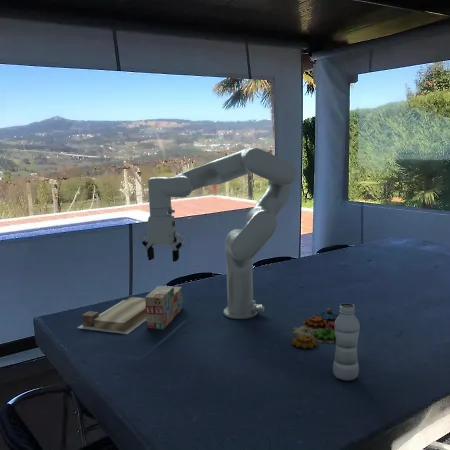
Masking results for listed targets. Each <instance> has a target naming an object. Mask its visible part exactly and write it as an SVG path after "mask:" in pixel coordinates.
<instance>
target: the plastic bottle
mask: <svg viewBox="0 0 450 450" xmlns="http://www.w3.org/2000/svg"><path fill="white" fill-rule="evenodd" d="M355 307H356V306H355V304H353V303H349V302H344V303H340V304H339V311H338V312H339V315H337V316H338V317H337V319H336V320H335V323H334V329H335V337H336V338H335V353H334V360H333V363H332V371H333V375H334V376H335V377H336V379H339V380H341V381H354V380H356V378H357V377H358V376H359V372H360V366H359V361H358V360H359V359H358V344H359V343H358V341H359V337H360V336H359V334H360V329H361V324H360V321H359V320H358V318H357V316H356V315H355V313H356V310H355V309H356V308H355Z"/></svg>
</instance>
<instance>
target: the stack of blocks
mask: <svg viewBox="0 0 450 450" xmlns="http://www.w3.org/2000/svg"><path fill="white" fill-rule="evenodd" d="M144 298H145V303H146V318H147V320H146V328H147V329H155V330H158V329H159V330H165V328H166V327H168V325H169V324H170V323H171V322H172V321H173V320H174V318H175V317H176V316H177V315H178V314H179V313H180V312H181V310H182V309H183V308H184V301H183V300H184V298H183V287H182V286H169V285H168V286H166V285H165V286H164V285H157V286H156V287H155V288H153V290H152V291H150V292H149V293H148V294H147V295H146V296H144Z"/></svg>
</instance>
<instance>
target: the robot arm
mask: <svg viewBox="0 0 450 450" xmlns="http://www.w3.org/2000/svg"><path fill="white" fill-rule="evenodd" d="M248 174H254V175H256V176H258V177H260V178H263V179H265V180H266V181H267V180H268V182H267V189H266V190H265V191H264V193H263V194H262V196H261V197H260V199H259V200H258V201H257V202H256V203H255V204H254V205H253V207H252V208H251V209H250V210H248V212H247V213H246V216H245V220H244V221H245V225H244V226H243V228H235V229H232V230H231V231H229V232H228V233H227V234H226V237H225V240H224V249H225V251H224V252H225V261H226V263H225V264H226V291H227V293H226V296H227V299H226V302H227V306H226V307H225V308H224V309H223V315H224V316H225V317H227V318H229V319H235V320H245V319H251V318H253V317H256V316H257V315H258V313H259V312H260V313H261V312H262V313H264V311H265V306H263V304H257V303H256V300H255V299H254V284H253V283H254V282H253V281H254V279H253V277H254V275H253V258H254V257H255V256H257V254H258V253H259V252H260V251H261V250H262V248H263V247H264V246H265V245H266V244H267V243H268V241H269V240H270V239H271V238H272V236H273V235H274V233H275V232H276V230H277V226H278V219H277V217H278V215H279V213H280V212H281V211H283V208H285V205H286V204H287V202H288V200H289V198H290V195H291V188H292V187H291V185H292V184H293V183H294V182H295V181H296V180H297V176H298V170H297V168H296V166H295V165H294V164H293V163H292V161H291V162H290V161H289V160H286V159H284V158H282V157H280V156H276V155H275V154H272V153H270V152H267V151H266V150H263V149H261V148H259V147H258V148H257V147H248V148H244V149H242V150H239V151H236V152H233V153H231V154H228V155H226V156H223V157H220V158H217V159H215V160H213V161H209V162H208V163H206V164H202V165H201V166H197V167H194V168H191V169H189V170H187V171H184V172H182V173H179V174H176V175H174V176H173V177H167V176H152V177H150V178H149V179H148V181H147V187H148V203H149V204H148V205H149V216H148V217H147V224H146V227H147V230H146V233H144V234H142V235H140V236H139V239H140V242H141V243H142V245H143V246H144V247H145V249H146V253H147V260H148V261H152V260H153V259H155V250H154V247H153V246H154V245H157V246H158V245H159V246H170V247H171V248H172V251H171V252H172V255H171V256H172V262H174V263H175V262H177V261H178V260H179V258H180V251H179V250H180V249H181V248H182V246H183V245H184V243H185V240H186V237H185V236H183V235H182V234H179V233H178V228H177V227H178V226H177V222H176V218H175V215H173V214H175V209H174V208H173V207H172V198H179V199H181V198H187V197H189V195H191V193H193V191H195V190H199V189H202V188H205V187H209V186H212V185H213V186H214V185H215V186H217V185H221V184H222V185H223V184H225V183H227V182H230V181H232V180H235V179H238V178H240V177H243V176H246V175H248ZM178 241H179V242H178Z"/></svg>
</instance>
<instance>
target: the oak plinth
mask: <svg viewBox="0 0 450 450" xmlns="http://www.w3.org/2000/svg"><path fill="white" fill-rule="evenodd" d="M124 300H125V301H124V302H122V303H120V304H119V305H117V306H115V307H114V308H112V309H111V310H109V311H107V312H106V313H104V314H102V315H101V316H99V317H97V318H96V319H94V328H99V329H107V330H115V331H123V332H125V331H126V330H127V329H129V328H130V327H132V326H133V325H134V324H136V323H137V322H139V321H140V320H141V319H143V318H144V317H146V303H145V297H136V296H131V297H128V299H124Z"/></svg>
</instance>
